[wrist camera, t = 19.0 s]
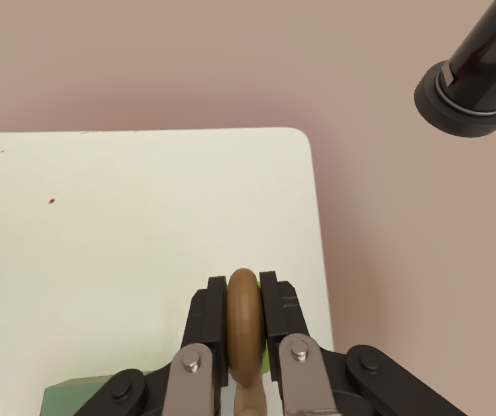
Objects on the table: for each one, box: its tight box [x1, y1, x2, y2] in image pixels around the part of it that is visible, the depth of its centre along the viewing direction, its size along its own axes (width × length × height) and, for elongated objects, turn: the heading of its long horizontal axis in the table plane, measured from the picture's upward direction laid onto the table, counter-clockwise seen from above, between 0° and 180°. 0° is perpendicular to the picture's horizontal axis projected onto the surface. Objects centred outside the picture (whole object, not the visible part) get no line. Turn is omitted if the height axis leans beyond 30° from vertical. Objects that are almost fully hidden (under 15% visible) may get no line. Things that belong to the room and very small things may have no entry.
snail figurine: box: [226, 268, 270, 416], centre depth 13 cm, size 5×6×12 cm
